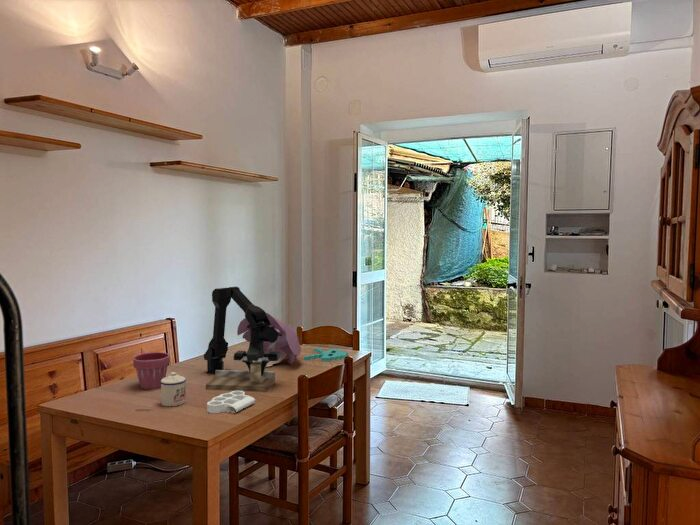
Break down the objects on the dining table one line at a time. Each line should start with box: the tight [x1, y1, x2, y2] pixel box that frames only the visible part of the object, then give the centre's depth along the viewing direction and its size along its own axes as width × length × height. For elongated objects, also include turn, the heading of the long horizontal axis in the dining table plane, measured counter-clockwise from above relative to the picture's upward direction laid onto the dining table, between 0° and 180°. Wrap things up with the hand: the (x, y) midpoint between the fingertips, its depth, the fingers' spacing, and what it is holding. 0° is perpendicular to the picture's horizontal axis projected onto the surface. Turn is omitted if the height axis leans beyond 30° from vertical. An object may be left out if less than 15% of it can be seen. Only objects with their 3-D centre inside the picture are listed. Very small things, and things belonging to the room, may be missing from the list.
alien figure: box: [303, 347, 349, 362], centre depth 259 cm, size 20×2×20 cm
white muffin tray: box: [206, 390, 256, 414], centre depth 184 cm, size 3×18×15 cm
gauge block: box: [250, 361, 263, 382], centre depth 210 cm, size 4×6×7 cm, turn 176°
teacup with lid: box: [160, 371, 187, 408], centre depth 188 cm, size 12×9×12 cm
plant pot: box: [132, 351, 171, 390], centre depth 207 cm, size 14×14×13 cm
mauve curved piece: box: [236, 312, 302, 368], centre depth 246 cm, size 35×24×28 cm
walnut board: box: [205, 369, 276, 392], centre depth 209 cm, size 26×13×4 cm, turn 86°
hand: (257, 375), depth 210 cm, fingers closed on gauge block, 4 cm apart
